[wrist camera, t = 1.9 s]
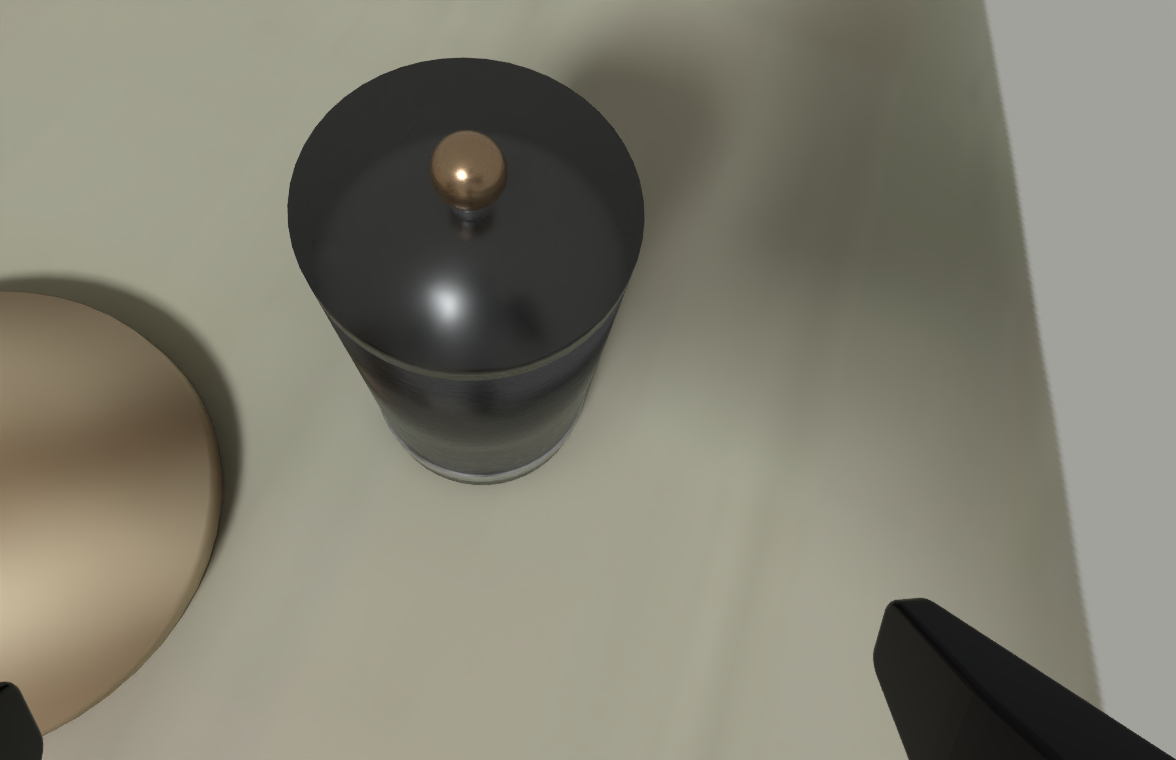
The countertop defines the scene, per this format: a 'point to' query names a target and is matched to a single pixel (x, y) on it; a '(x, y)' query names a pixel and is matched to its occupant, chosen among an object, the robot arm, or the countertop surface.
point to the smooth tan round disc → (94, 502)
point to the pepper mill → (469, 255)
